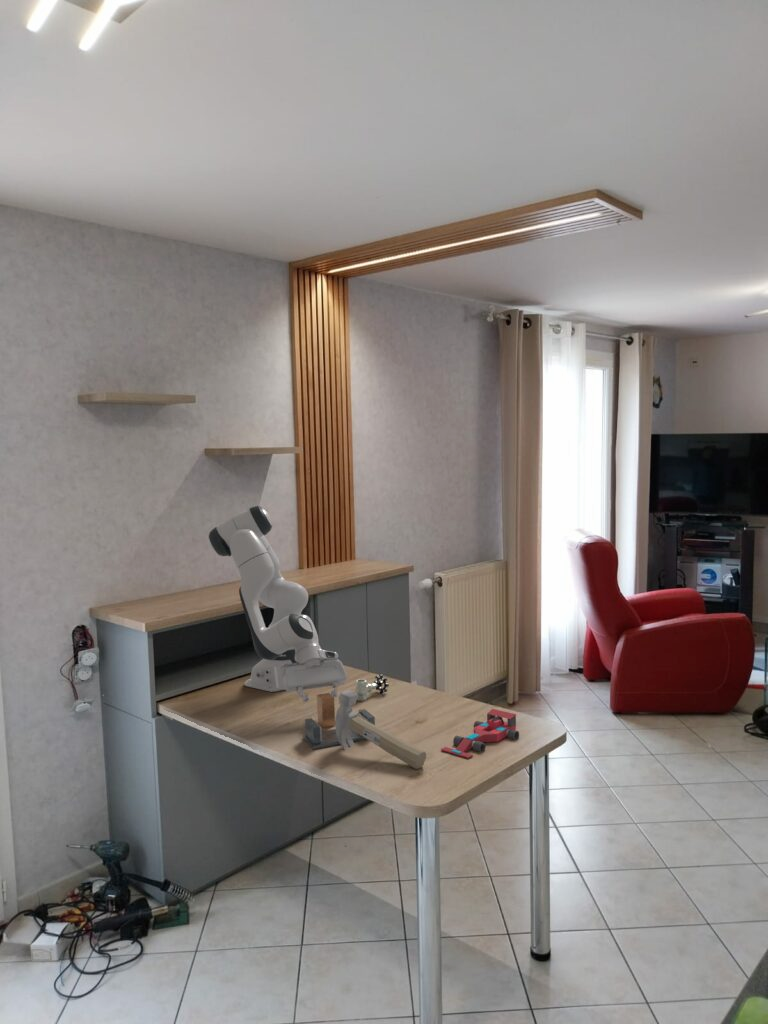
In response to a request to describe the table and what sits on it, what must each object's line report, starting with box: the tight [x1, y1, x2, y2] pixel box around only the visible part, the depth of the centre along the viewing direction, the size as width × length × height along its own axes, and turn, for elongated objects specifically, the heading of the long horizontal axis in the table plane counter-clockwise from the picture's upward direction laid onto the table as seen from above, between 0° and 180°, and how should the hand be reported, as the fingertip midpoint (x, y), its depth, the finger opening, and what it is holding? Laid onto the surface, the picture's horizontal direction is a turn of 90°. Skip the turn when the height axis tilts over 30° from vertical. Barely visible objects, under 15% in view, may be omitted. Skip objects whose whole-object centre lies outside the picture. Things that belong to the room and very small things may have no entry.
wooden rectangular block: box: [316, 692, 336, 729], centre depth 239 cm, size 5×4×9 cm
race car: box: [440, 708, 520, 759], centre depth 220 cm, size 14×6×25 cm
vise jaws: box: [302, 708, 376, 750], centre depth 227 cm, size 10×20×6 cm, turn 113°
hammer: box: [334, 689, 427, 770], centre depth 212 cm, size 16×5×30 cm
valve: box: [354, 673, 390, 702], centre depth 265 cm, size 7×7×12 cm
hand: (320, 698), depth 240 cm, fingers open, 8 cm apart
